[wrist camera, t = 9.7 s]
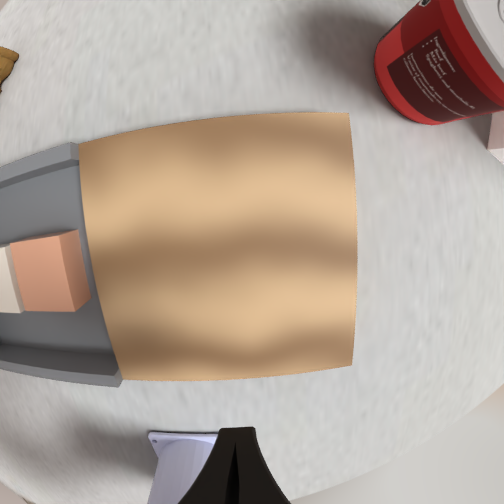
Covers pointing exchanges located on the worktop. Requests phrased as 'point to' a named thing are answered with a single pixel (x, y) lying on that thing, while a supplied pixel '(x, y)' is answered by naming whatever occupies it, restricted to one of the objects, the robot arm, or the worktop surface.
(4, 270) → the tile
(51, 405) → the worktop surface
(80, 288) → the tile
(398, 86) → the canned food
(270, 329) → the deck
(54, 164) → the tray
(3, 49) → the tap handle
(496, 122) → the milk
